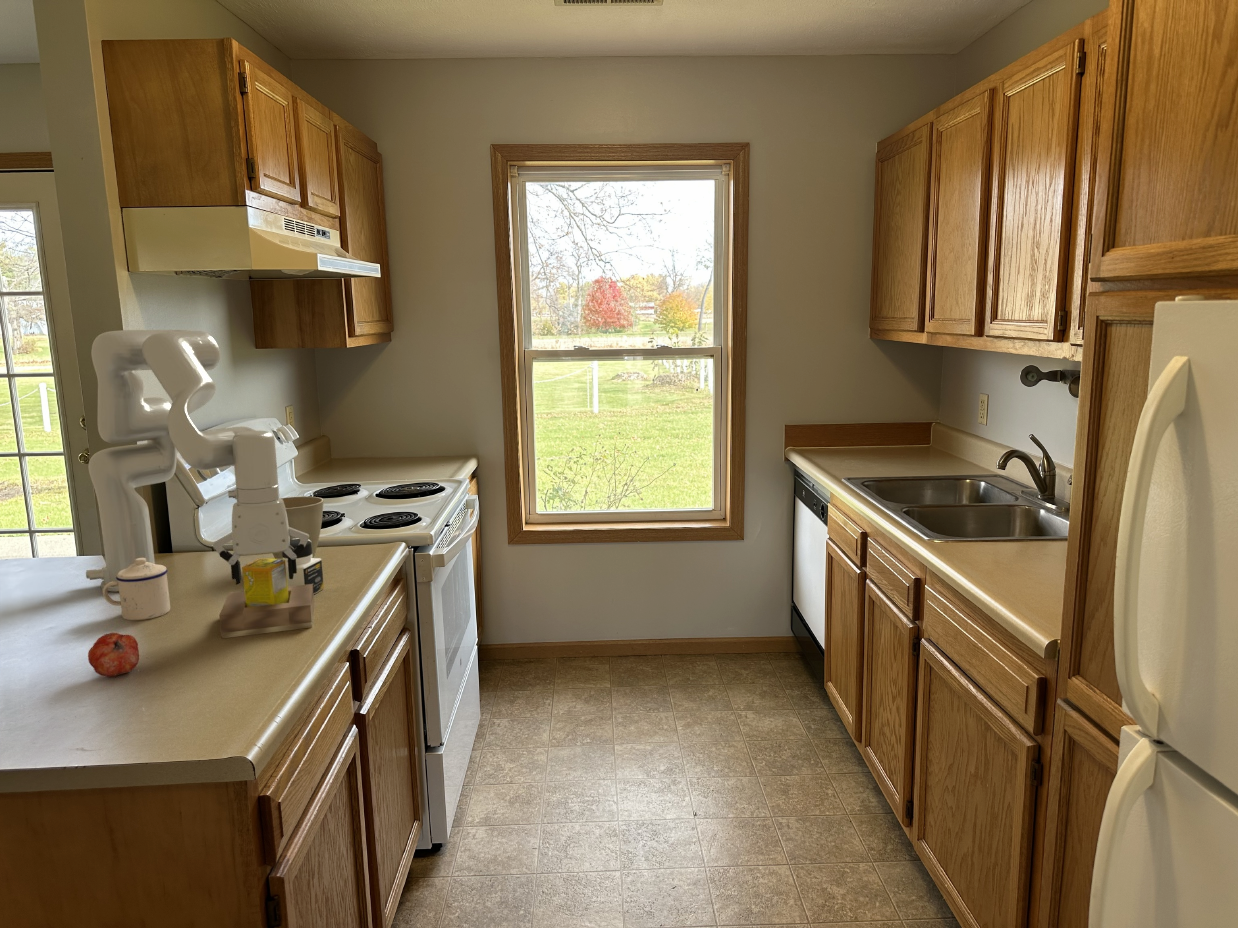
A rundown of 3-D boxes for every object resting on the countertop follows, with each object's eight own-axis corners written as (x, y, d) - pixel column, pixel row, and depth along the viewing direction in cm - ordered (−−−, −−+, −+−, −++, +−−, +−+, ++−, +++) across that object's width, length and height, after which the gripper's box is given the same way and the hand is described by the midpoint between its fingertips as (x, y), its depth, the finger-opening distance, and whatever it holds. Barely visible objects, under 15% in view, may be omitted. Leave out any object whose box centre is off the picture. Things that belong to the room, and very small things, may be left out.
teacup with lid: (176, 604, 176) (170, 550, 174) (165, 618, 168) (158, 562, 166) (113, 610, 173) (106, 556, 171) (98, 625, 165) (91, 568, 163)
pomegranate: (87, 688, 141) (87, 669, 134) (88, 646, 144) (87, 626, 137) (138, 682, 145) (140, 663, 138) (137, 641, 148) (140, 621, 141)
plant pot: (336, 567, 201) (330, 502, 198) (270, 579, 193) (264, 511, 190) (319, 554, 213) (314, 493, 210) (257, 564, 205) (251, 501, 202)
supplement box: (263, 610, 169) (258, 557, 167) (290, 610, 168) (286, 558, 166) (246, 620, 163) (241, 566, 161) (275, 621, 162) (270, 567, 160)
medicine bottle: (306, 599, 178) (301, 545, 176) (276, 597, 179) (271, 543, 177) (324, 589, 185) (320, 536, 183) (295, 587, 186) (290, 535, 184)
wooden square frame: (221, 638, 156) (219, 615, 156) (230, 614, 170) (228, 592, 169) (312, 627, 161) (310, 604, 161) (314, 604, 174) (312, 583, 174)
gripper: (206, 502, 155) (214, 590, 158) (305, 495, 160) (311, 580, 163) (211, 494, 162) (219, 578, 165) (306, 488, 167) (312, 569, 170)
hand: (265, 579), depth 164 cm, fingers open, 9 cm apart
